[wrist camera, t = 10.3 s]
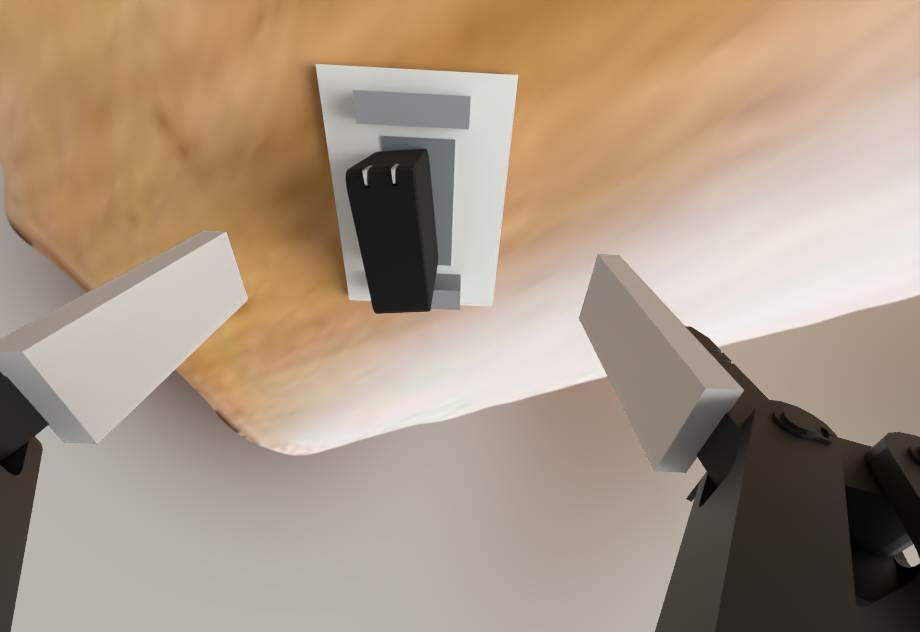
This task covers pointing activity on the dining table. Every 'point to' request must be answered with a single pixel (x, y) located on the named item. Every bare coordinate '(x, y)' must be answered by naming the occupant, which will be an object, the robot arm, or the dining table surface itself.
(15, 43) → the dining table surface
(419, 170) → the electronic device
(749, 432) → the robot arm
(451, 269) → the mounting board
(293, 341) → the dining table surface
